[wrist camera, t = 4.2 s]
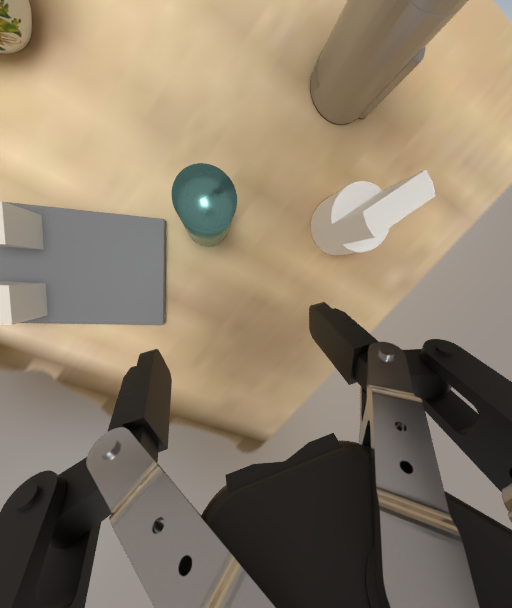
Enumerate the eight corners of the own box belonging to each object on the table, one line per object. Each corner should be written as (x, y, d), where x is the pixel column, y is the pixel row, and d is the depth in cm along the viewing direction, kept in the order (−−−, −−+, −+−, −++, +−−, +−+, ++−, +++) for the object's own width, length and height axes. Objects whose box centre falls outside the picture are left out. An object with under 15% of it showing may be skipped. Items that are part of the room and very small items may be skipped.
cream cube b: (41, 214, 26) (1, 201, 21) (43, 249, 26) (5, 244, 21) (0, 210, 25) (-52, 195, 20) (3, 246, 25) (-47, 240, 21)
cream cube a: (45, 283, 27) (8, 285, 22) (47, 315, 27) (12, 324, 22) (5, 281, 26) (-42, 283, 21) (8, 314, 26) (-37, 323, 22)
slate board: (166, 221, 30) (163, 219, 28) (165, 322, 32) (163, 325, 30) (-5, 203, 26) (-18, 199, 24) (5, 319, 28) (-6, 322, 26)
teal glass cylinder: (228, 207, 31) (238, 169, 20) (226, 248, 32) (235, 233, 20) (187, 202, 30) (172, 158, 18) (186, 244, 31) (171, 227, 19)
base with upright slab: (346, 185, 34) (416, 140, 23) (370, 236, 36) (446, 219, 25) (300, 215, 33) (348, 185, 22) (327, 266, 35) (384, 263, 24)
